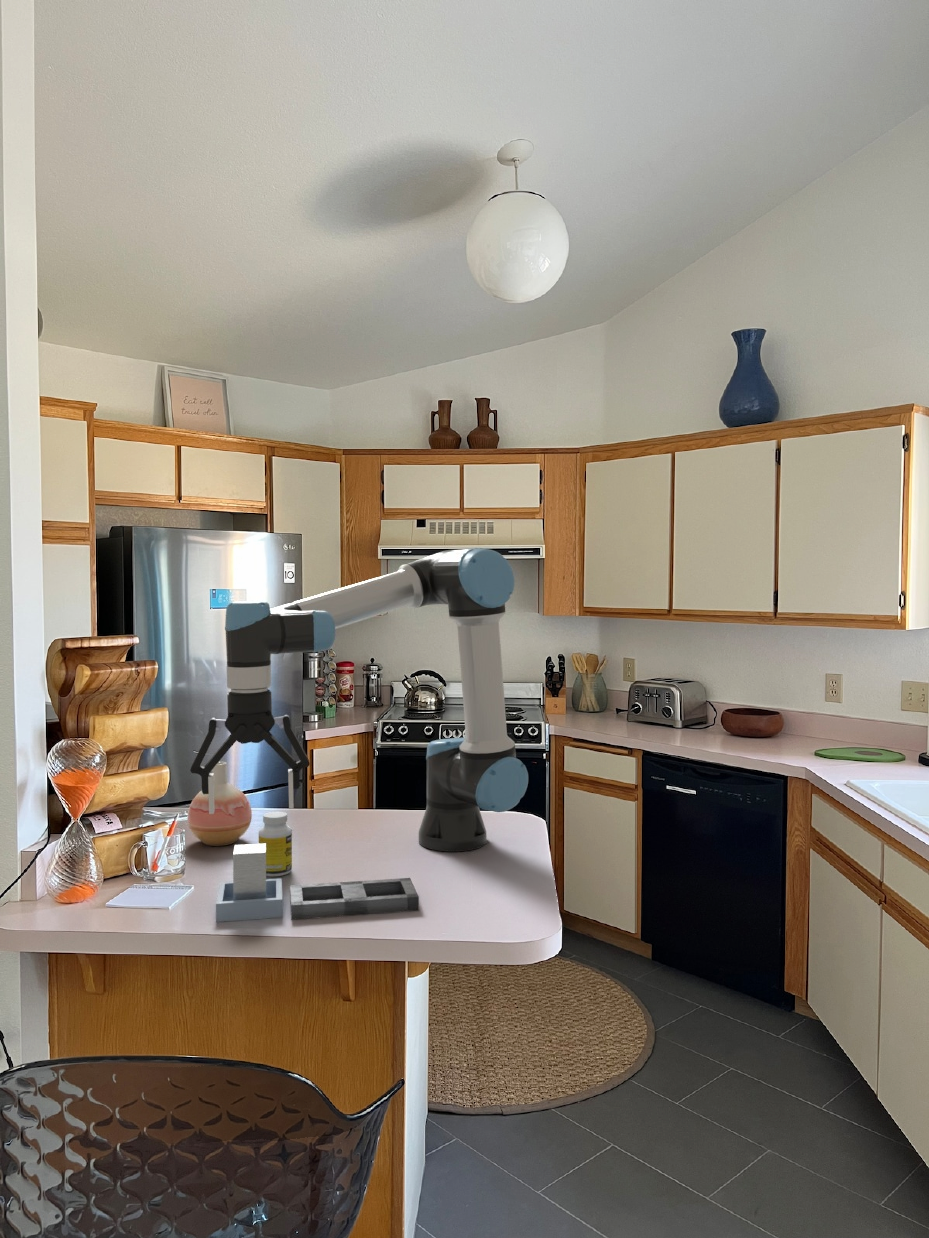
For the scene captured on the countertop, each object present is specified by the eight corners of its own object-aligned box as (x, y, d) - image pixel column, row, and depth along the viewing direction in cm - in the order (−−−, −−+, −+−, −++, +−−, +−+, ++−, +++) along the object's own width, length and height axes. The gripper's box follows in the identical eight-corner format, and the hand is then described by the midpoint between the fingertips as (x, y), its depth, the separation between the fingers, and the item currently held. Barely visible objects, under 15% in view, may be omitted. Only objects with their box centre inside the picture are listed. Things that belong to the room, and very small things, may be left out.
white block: (266, 897, 160) (266, 843, 159) (265, 908, 155) (265, 852, 154) (234, 899, 159) (234, 844, 158) (233, 911, 153) (233, 854, 153)
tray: (281, 894, 163) (281, 878, 163) (282, 917, 152) (282, 899, 152) (219, 898, 161) (219, 882, 161) (216, 921, 150) (215, 903, 150)
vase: (218, 855, 186) (217, 772, 185) (174, 844, 193) (173, 764, 193) (264, 839, 198) (264, 761, 197) (221, 830, 205) (221, 754, 204)
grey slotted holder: (410, 890, 166) (410, 877, 166) (418, 910, 156) (418, 896, 156) (290, 899, 161) (290, 885, 161) (291, 919, 151) (291, 905, 151)
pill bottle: (284, 879, 172) (284, 819, 171) (253, 876, 173) (252, 817, 173) (297, 868, 178) (297, 811, 178) (267, 866, 180) (266, 809, 179)
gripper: (320, 684, 161) (322, 799, 162) (176, 689, 156) (180, 808, 157) (322, 689, 154) (324, 810, 155) (172, 695, 149) (175, 819, 150)
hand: (251, 809), depth 156 cm, fingers open, 13 cm apart
